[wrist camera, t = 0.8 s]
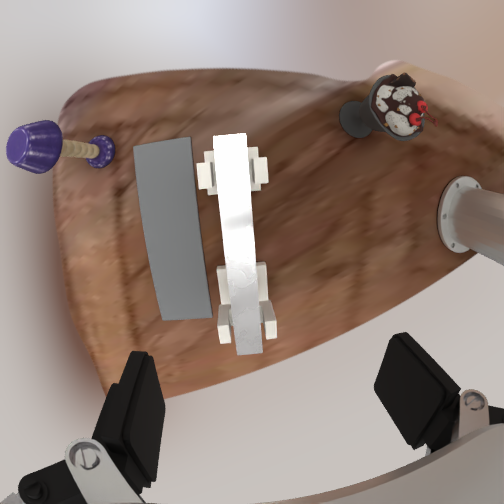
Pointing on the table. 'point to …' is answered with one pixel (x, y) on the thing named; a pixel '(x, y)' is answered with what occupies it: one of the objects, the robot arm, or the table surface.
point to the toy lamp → (53, 147)
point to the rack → (267, 316)
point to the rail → (238, 240)
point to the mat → (172, 228)
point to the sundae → (387, 110)
